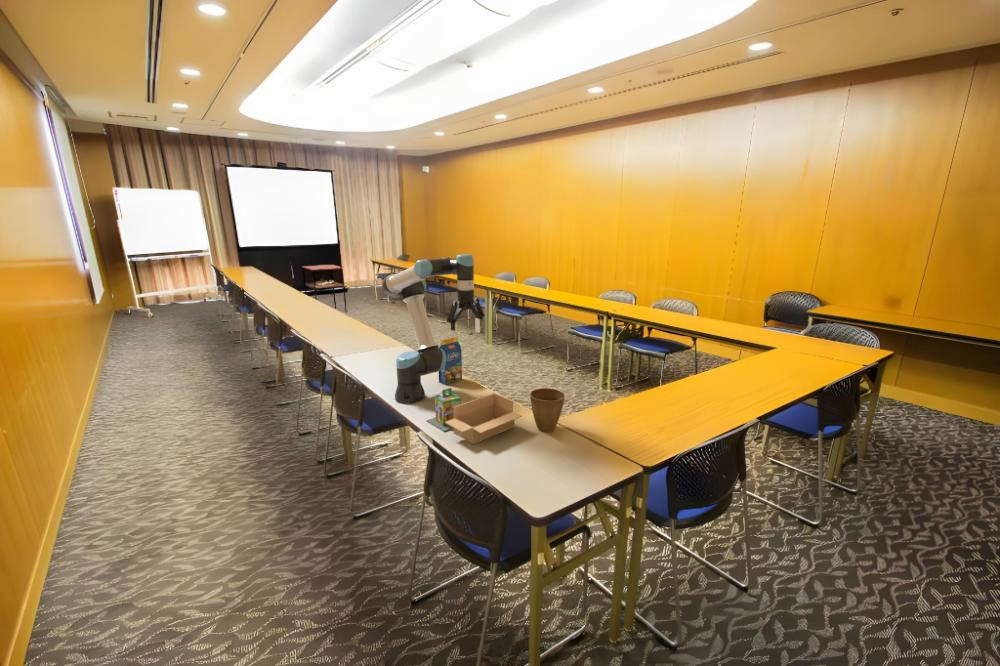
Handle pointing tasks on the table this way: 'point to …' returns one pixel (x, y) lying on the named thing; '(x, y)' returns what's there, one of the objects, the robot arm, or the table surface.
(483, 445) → the table surface
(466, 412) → the carton
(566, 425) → the table surface
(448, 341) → the blue food package
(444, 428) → the mat
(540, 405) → the plant pot
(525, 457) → the table surface
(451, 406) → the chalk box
